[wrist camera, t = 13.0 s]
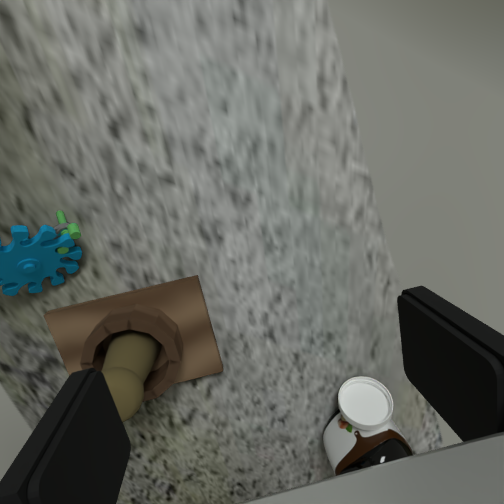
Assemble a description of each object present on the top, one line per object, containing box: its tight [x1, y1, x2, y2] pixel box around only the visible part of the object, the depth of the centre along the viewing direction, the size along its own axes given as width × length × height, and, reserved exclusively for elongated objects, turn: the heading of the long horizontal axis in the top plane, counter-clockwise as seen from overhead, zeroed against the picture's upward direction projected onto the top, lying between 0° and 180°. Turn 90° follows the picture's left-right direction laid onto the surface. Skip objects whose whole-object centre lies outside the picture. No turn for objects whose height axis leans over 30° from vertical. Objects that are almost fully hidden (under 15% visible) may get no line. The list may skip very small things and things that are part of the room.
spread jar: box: [323, 376, 413, 476], centre depth 44 cm, size 12×11×12 cm
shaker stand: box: [44, 275, 223, 402], centre depth 40 cm, size 13×18×5 cm
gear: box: [0, 211, 82, 296], centre depth 36 cm, size 11×6×10 cm
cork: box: [102, 329, 162, 422], centre depth 36 cm, size 6×6×11 cm
